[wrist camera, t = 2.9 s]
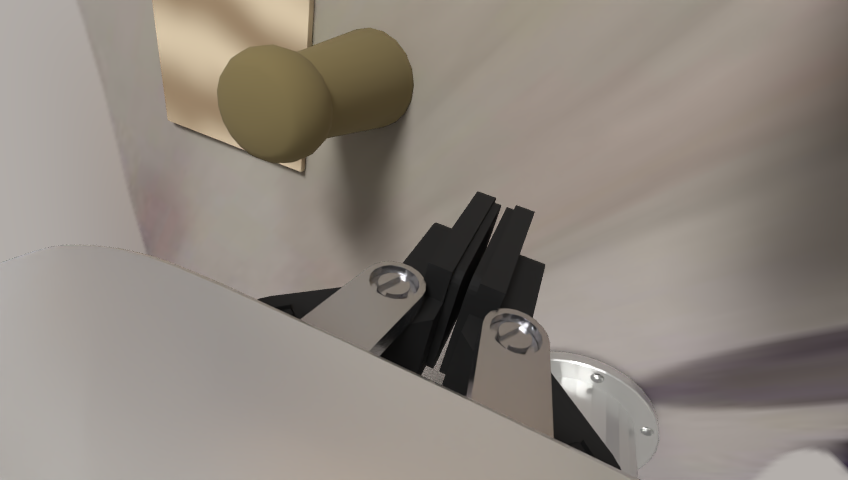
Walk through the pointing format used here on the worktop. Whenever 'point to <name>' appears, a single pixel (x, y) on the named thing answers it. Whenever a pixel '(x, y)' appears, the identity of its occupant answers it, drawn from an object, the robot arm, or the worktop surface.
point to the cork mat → (219, 51)
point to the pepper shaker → (313, 93)
